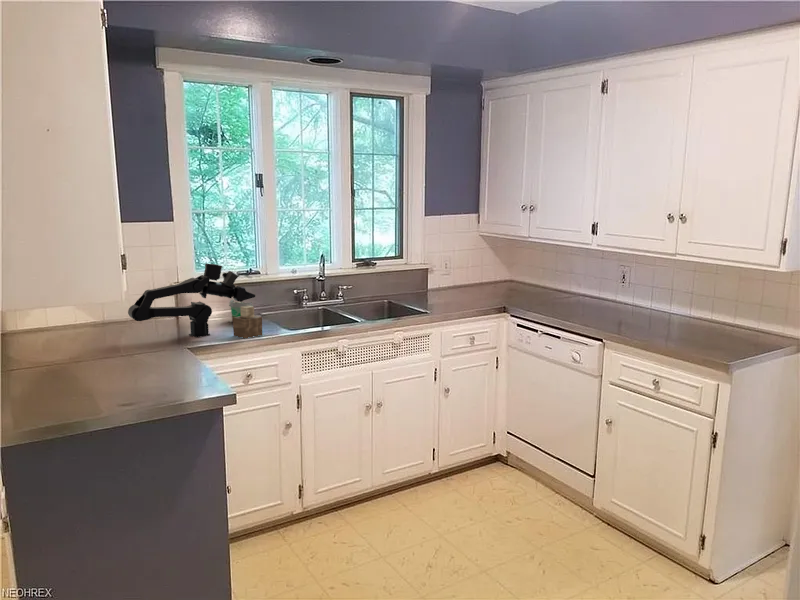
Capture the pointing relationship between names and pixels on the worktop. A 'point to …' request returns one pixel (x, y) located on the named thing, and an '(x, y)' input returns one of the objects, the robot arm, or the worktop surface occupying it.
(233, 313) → the food container
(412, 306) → the worktop surface
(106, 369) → the worktop surface
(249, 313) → the peg
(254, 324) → the walnut block
